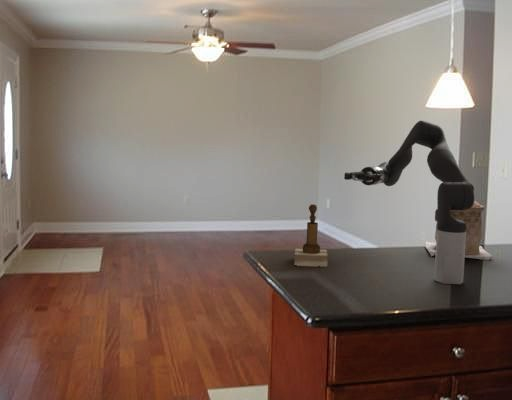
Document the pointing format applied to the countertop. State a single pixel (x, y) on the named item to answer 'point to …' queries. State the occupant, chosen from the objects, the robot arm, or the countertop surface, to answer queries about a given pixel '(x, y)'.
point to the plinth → (311, 258)
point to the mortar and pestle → (312, 233)
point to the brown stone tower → (467, 232)
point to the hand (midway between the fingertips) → (355, 177)
